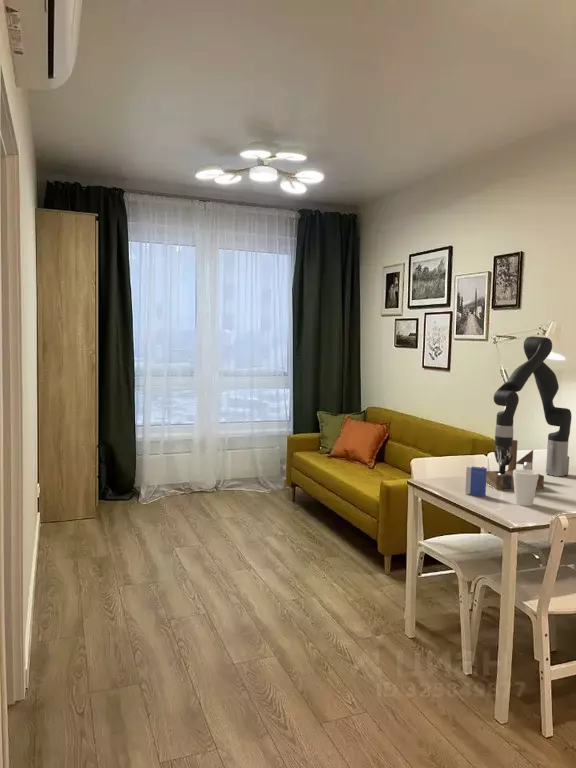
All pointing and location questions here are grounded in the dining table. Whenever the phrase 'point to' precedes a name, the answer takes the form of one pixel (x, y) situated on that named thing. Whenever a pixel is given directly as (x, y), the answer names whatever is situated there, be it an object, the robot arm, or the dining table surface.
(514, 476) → the foam cup
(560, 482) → the dining table surface
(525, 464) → the peg inner
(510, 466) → the wooden post with wedge
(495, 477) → the band block
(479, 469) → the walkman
